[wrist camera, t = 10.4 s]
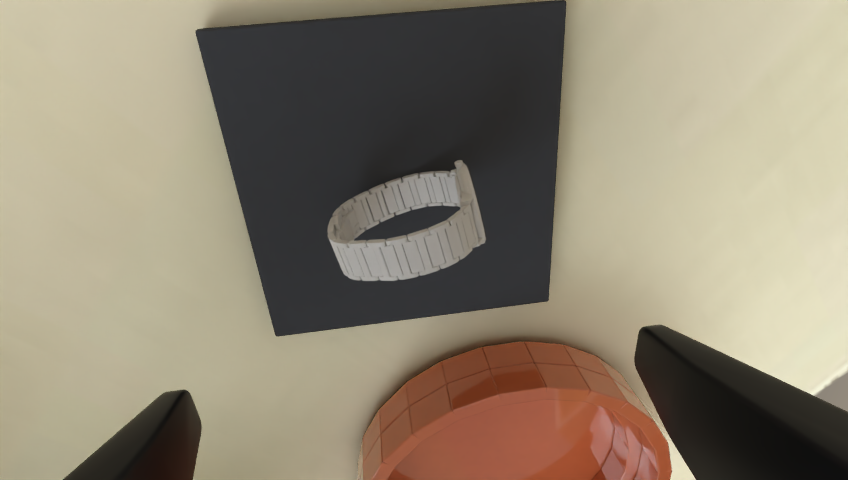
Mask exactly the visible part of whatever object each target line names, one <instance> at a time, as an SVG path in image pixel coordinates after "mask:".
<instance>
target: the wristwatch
mask: <svg viewBox="0 0 848 480" xmlns="http://www.w3.org/2000/svg"><path fill="white" fill-rule="evenodd" d="M454 163H455V167H456V169H454V170H451V172H449V171H436V172H435V171H430V172H422V173H420V174H418V173H416V174H411V175H407V176H404V177H402V179H403V181H402V180H401V178H397V179H394V180H391V181H388V182H386V183H385V185H386V187H385V185H384V184H380V185H378V186H376V187H373V188H371V189H369V191H365V192H363V193H361V194H359V195H356V196H355V197H353V199H349V200H347V201H346V202H345V203H343V204H342V205H340V207H339V208H337V209H336V210H335V211H334V213H333V215H332V216H333V217H332V218H331V219H330V222H329V225H328V230H327V232H328V238H329V240H330V243H331V245H332V248H333V250H334V252H335V255H336V257H337V260H338V262H339V264H340V267H341V269H342V271H343V273H344V275H345V276H348V278H350V279H353V280H361V279H362V280H363V281H377V280H379V279H380V280H381V281H395V280H398V278H399V280H404V279H409V278H415V277H418V276H419V275H420V276H421V275H426V274H429V273H433V272H436V271H438V270H440V268H441V269H443V268H446V267H449V266H451V265H453V264H455V263H457V262H458V261H459V259H460V260H461V259H463V258H465V257H466V256H467V255H468V254H469V253H470V252H471V251H472V248H474V247H478V246H480V245H481V244H484V243H485V240H486V239H487V237H486V231H485V226H484V222H483V218H482V213H481V209H480V206H479V202H478V198H477V194H476V190H475V187H474V183H473V180H472V177H471V173H470V170H469V168H468V166H466V165H465V164H464V163H463V161H462V160H458V161H456V162H454ZM419 175H420V176H419ZM408 182H409V183H408ZM398 185H399V187H398ZM409 185H410V186H409ZM399 188H400V190H399ZM400 191H401V193H400ZM411 192H412V193H411ZM369 193H370V194H369ZM401 195H402V197H401ZM412 195H413V196H412ZM402 198H403V200H402ZM395 199H396V200H395ZM403 201H404V203H403ZM396 202H397V203H396ZM414 202H415V203H414ZM427 203H428V204H427ZM404 204H405V206H404ZM397 205H398V206H397ZM427 205H428V206H441V205H444V206H458V207H460V211H457V212H456V213H455V214H454V215H452V216H451V217H450V218H448V219H447V220H446V221H443V222H441V223H439V224H436V225H434V226H432V227H430V228H428V229H423V230H420V231H417V232H414V233H411V234H408V235H407V236H406V235H403V236H398V237H393V238H388V239H387V240H385V239H376V240H368V241H366V240H359V241H354V239H355V238H357V237H358V236H359V235H360V234H362V233H363V232H364V231H365V230H368V229H370V228H372V227H373V226H375V225H377V224H379V221H380V222H383V221H385V220H387V219H390V218H392V217H394V216H395V215H399V214H402V213H405V212H408V211H410V210H411V209H410V207H411V208H412V210H414V209H419V208H423V207H427ZM398 208H399V209H398ZM388 212H389V213H388ZM394 213H395V215H394ZM407 237H408V238H407ZM424 240H425V241H424ZM427 250H428V251H427ZM439 266H440V268H439ZM418 272H419V273H418Z"/></svg>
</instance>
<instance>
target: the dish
mask: <svg viewBox="0 0 848 480" xmlns="http://www.w3.org/2000/svg"><path fill="white" fill-rule="evenodd" d="M671 473H672V468H671V461H670V453H669V446H668V442H667V440H666V439H665V437H664V436H663V434H662V433H661V431H660V429H659V428H658V426H657V425H656V423H655V421H654V420H653V419H652V417H651V416H650V414H649V413H648V411H647V410H646V409H645V407H644V406H643V404H642V403H641V402H640V400H639V399H638V397H637V396H636V395H635V393H634V392H633V390H632V389H631V387H630V386H629V385H628V383H627V382H626V380H625V379H624V378H623V376H622V375H621V374H620V373H619V372H618V371H616V370H615V369H614V368H612V367H611V366H610V365H608V364H607V363H606V362H604V361H603V360H602V359H600V358H599V357H597V356H595V355H592V354H589V353H587V352H584V351H581V350H578V349H575V348H572V347H569V346H566V345H562V344H553V343H541V342H529V341H524V342H523V341H521V342H513V343H506V344H499V345H491V346H484V347H479V348H476V349H473V350H471V351H468V352H465V353H462V354H459V355H456V356H454V357H451V358H448V359H445V360H442V362H441V361H440V362H438V363H437V364H435V365H433V366H432V367H430V368H428V369H427V370H425V371H424V372H422V373H420V374H419V375H417V376H415V377H414V378H412V379H410V380H409V381H407V382H406V383H405V384H404V385H403V386H402V387H401V388H400V389H399V390H398V391H397V392H396V393H395V394H394V395H393V396H392V397H391V398H390V399H389V400H388V401H387V402H386V403H385V404H384V405H383V406H382V407H381V408H380V409H379V410H378V411H377V413H376V415H375V417H374V418H373V420H372V422H371V424H370V425H369V427H368V429H367V431H366V432H365V434H364V436H363V439H362V445H361V450H360V455H359V460H358V480H670V477H671Z"/></svg>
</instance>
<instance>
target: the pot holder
mask: <svg viewBox="0 0 848 480" xmlns="http://www.w3.org/2000/svg"><path fill="white" fill-rule="evenodd" d="M565 17H566V1H565V0H555V1H543V2H530V3H517V4H505V5H492V6H480V7H467V8H454V9H442V10H429V11H417V12H404V13H391V14H379V15H366V16H354V17H341V18H328V19H316V20H303V21H291V22H278V23H265V24H253V25H240V26H228V27H215V28H203V29H197V30H196V36H197V40H198V44H199V48H200V51H201V55H202V59H203V63H204V66H205V70H206V74H207V78H208V82H209V85H210V89H211V93H212V97H213V101H214V104H215V108H216V112H217V116H218V119H219V123H220V127H221V131H222V135H223V138H224V142H225V146H226V150H227V154H228V157H229V161H230V165H231V169H232V173H233V176H234V180H235V184H236V188H237V191H238V195H239V199H240V203H241V207H242V210H243V214H244V218H245V222H246V226H247V229H248V233H249V237H250V241H251V244H252V248H253V252H254V256H255V260H256V263H257V267H258V271H259V275H260V279H261V282H262V286H263V290H264V294H265V298H266V301H267V305H268V309H269V313H270V316H271V320H272V324H273V328H274V332H275V335H276V336H285V335H292V334H300V333H308V332H315V331H323V330H331V329H338V328H346V327H354V326H361V325H369V324H377V323H384V322H392V321H400V320H407V319H415V318H423V317H430V316H438V315H446V314H453V313H461V312H469V311H476V310H484V309H492V308H499V307H507V306H515V305H523V304H530V303H538V302H546V301H548V300H549V284H550V267H551V250H552V234H553V217H554V200H555V184H556V167H557V150H558V134H559V117H560V100H561V84H562V67H563V50H564V34H565ZM458 160H462V161H463V163H464V164H465V165H466V166H468V168H469V170H470V173H471V177H472V180H473V183H474V187H475V190H476V194H477V198H478V202H479V206H480V209H481V213H482V218H483V222H484V226H485V231H486V237H487V239H486V240H485V243H484V244H481V245H480V246H478V247H474V248H472V251H471V252H470V253H469V254H468V255H467V256H466V257H465V258H463V259H461V260H460V259H459V261H458V262H457V263H455V264H453V265H451V266H449V267H446V268H443V269H441V268H440V266H439V268H440V270H438V271H436V272H433V273H429V274H426V275H421V276H420V275H419V276H418V277H415V278H409V279H404V280H399V278H398V280H395V281H381V280H380V279H379V280H377V281H363V280H362V279H361V280H353V279H350V278H348V276H345V275H344V273H343V271H342V269H341V267H340V264H339V262H338V260H337V257H336V255H335V252H334V250H333V248H332V245H331V243H330V240H329V238H328V232H327V230H328V225H329V222H330V219H331V218H332V217H333V216H332V215H333V213H334V211H335V210H336V209H337V208H339V207H340V205H342V204H343V203H345V202H346V201H347V200H349V199H353V197H355V196H356V195H359V194H361V193H363V192H365V191H369V189H371V188H373V187H376V186H378V185H380V184H384V185H385V183H386V182H388V181H391V180H394V179H397V178H401V180H402V181H403V179H402V177H404V176H407V175H411V174H416V173H418V174H420V173H422V172H430V171H435V172H436V171H449V172H451V170H454V169H456V167H455V163H454V162H456V161H458ZM419 176H420V175H419ZM408 183H409V182H408ZM409 186H410V185H409ZM385 187H386V185H385ZM398 187H399V185H398ZM399 190H400V188H399ZM400 193H401V191H400ZM411 193H412V192H411ZM369 194H370V193H369ZM412 196H413V195H412ZM401 197H402V195H401ZM395 200H396V199H395ZM402 200H403V198H402ZM396 203H397V202H396ZM403 203H404V201H403ZM414 203H415V202H414ZM427 204H428V203H427ZM397 206H398V205H397ZM404 206H405V204H404ZM398 209H399V208H398ZM410 209H411V210H410V211H408V212H405V213H402V214H399V215H395V213H394V215H395V216H394V217H392V218H390V219H387V220H385V221H383V222H380V221H379V224H377V225H375V226H373V227H372V228H370V229H368V230H365V231H364V232H363V233H362V234H360V235H359V236H358V237H357V238H355V239H354V241H359V240H366V241H368V240H376V239H385V240H387V239H388V238H393V237H398V236H403V235H406V236H407V235H408V234H411V233H414V232H417V231H420V230H423V229H428V228H430V227H432V226H434V225H436V224H439V223H441V222H443V221H446V220H447V219H448V218H450V217H451V216H452V215H454V214H455V213H456V212H457V211H460V207H458V206H444V205H441V206H428V205H427V207H423V208H419V209H414V210H412V208H411V207H410ZM388 213H389V212H388ZM407 238H408V237H407ZM424 241H425V240H424ZM427 251H428V250H427ZM418 273H419V272H418Z"/></svg>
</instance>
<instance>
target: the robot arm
mask: <svg viewBox="0 0 848 480" xmlns="http://www.w3.org/2000/svg"><path fill="white" fill-rule="evenodd" d="M634 361H635V367H636V370H637V372H638V374H639V376H640V378H641V380H642V382H643V384H644V386H645V388H646V390H647V392H648V394H649V396H650V398H651V400H652V402H653V404H654V406H655V408H656V411H657V413H658V415H659V417H660V419H661V421H662V423H663V425H664V427H665V429H666V431H667V432H668V434H669V436H670V438H671V440H672V441H673V443H674V445H675V446H676V448H677V450H678V451H679V453H680V454H681V456H682V458H683V459H684V461H685V462H686V464H687V466H688V467H689V469H690V470H691V472H692V474H693V475H694V477H695V478H696V480H848V412H847V411H845V410H843V409H841V408H838V407H836V406H834V405H832V404H830V403H828V402H826V401H823V400H822V399H819V398H817V397H815V396H813V395H811V394H809V393H807V392H804V391H802V390H800V389H798V388H796V387H794V386H792V385H790V384H787V383H785V382H783V381H781V380H779V379H777V378H775V377H772V376H770V375H768V374H766V373H764V372H762V371H760V370H758V369H755V368H753V367H751V366H749V365H747V364H745V363H743V362H740V361H738V360H736V359H734V358H732V357H730V356H728V355H725V354H723V353H721V352H719V351H717V350H715V349H713V348H711V347H708V346H706V345H704V344H702V343H700V342H698V341H696V340H693V339H691V338H689V337H687V336H685V335H683V334H681V333H678V332H676V331H674V330H672V329H670V328H668V327H666V326H663V325H653V326H645V327H643V328H641V329H640V331H639V334H638V340H637V345H636V351H635V358H634ZM201 428H202V427H201V420H200V417H199V415H198V412H197V409H196V407H195V404H194V402H193V399H192V397H191V395H190V393H189V392H188V391H187V390H177V391H170V392H165V393H163V394H162V395H160V396H159V397H158V398H157V399H156V400H154V401H153V402H152V403H151V404H150V405H149V406H147V407H146V408H145V409H144V410H143V411H142V412H141V413H139V414H138V415H137V416H136V417H135V418H134V419H132V420H131V421H130V422H129V423H128V424H127V425H125V426H124V427H123V428H122V429H121V430H120V431H119V432H117V433H116V434H115V435H114V436H113V437H112V438H110V439H109V440H108V441H107V442H106V443H105V444H103V445H102V446H101V447H100V448H99V449H98V450H97V451H95V452H94V453H93V454H92V455H91V456H90V457H88V458H87V459H86V460H85V461H84V462H83V463H81V464H80V465H79V466H78V467H77V468H76V469H75V470H73V471H72V472H71V473H70V474H69V475H68V476H66V477H65V478H64V479H63V480H193V475H194V469H195V464H196V458H197V453H198V447H199V442H200V437H201Z"/></svg>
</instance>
